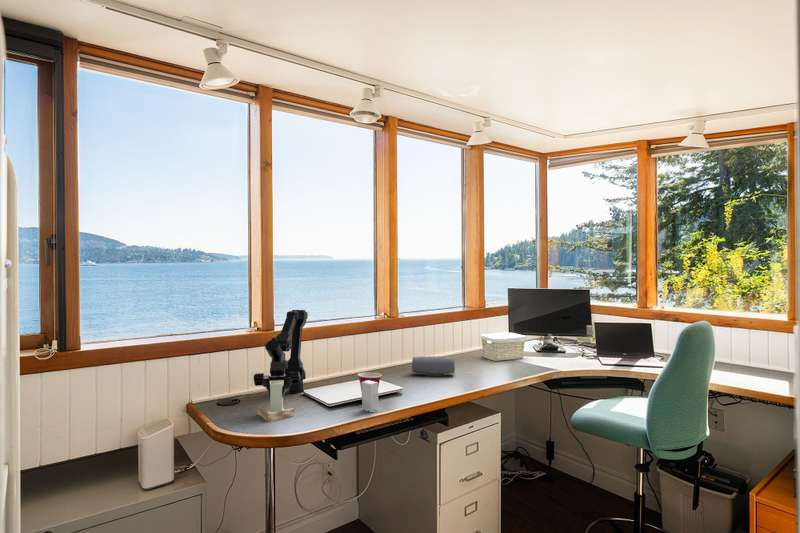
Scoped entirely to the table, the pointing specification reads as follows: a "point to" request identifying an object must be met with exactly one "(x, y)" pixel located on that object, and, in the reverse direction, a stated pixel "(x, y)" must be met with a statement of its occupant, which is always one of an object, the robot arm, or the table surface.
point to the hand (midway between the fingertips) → (276, 396)
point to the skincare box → (370, 396)
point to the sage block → (276, 396)
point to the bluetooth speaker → (433, 365)
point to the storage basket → (503, 346)
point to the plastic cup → (369, 377)
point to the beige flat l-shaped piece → (275, 414)
